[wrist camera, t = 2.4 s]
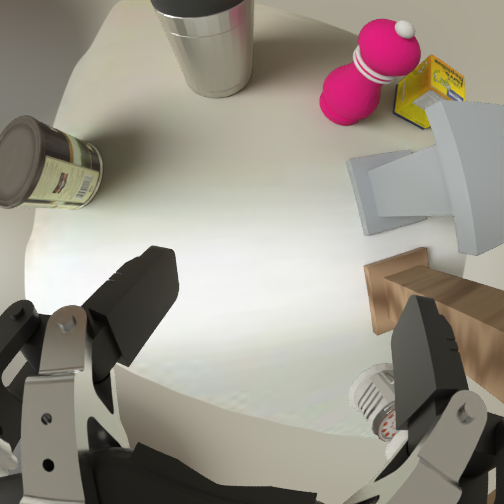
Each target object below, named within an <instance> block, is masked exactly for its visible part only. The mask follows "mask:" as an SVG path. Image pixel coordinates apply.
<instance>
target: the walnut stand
mask: <svg viewBox="0 0 504 504" xmlns="http://www.w3.org/2000/svg"><path fill="white" fill-rule="evenodd" d="M364 272H365V277H366V283H367V289H368V296H369V303H370V310H371V317H372V325H373V332H374V333H375V334H376V335H380V334H383V333H385V332H388V331H390V330H393V329H394V328H395V326H396V324H397V322H398V320H399V318H400V316H401V314H402V312H403V310H404V308H405V306H406V303H407V301H408V299H409V297H410V296H411V295H419V296H425V297H431V298H433V299H434V300H435V303H436V306H437V309H438V312H439V314H440V315H443V316H444V317H445V318H446V320H447V321H448V322H449V324H450V325H451V326H452V329H453V333H454V336H455V342H457V346H458V349H459V350H458V352H460V356H461V360H462V363H463V367H464V371H465V374H466V375H467V376H468V377H470V378H471V379H472V380H474V381H475V382H476V383H478V384H479V385H480V386H482V387H483V388H484V389H486V390H487V391H488V392H489V393H491V394H492V395H493V396H495V397H496V398H497V399H498V400H500V401H501V402H502V403H504V291H503V290H500V289H496V288H493V287H490V286H487V285H484V284H480V283H477V282H474V281H470V280H467V279H463V278H460V277H457V276H453V275H450V274H446V273H443V272H439V271H436V270H432V269H429V263H428V255H427V248H423V247H420V248H417V249H414V250H411V251H408V252H405V253H402V254H399V255H396V256H393V257H390V258H387V259H384V260H381V261H377V262H374V263H371V264H368V265H365V266H364Z"/></svg>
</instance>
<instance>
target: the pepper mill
mask: <svg viewBox="0 0 504 504" xmlns="http://www.w3.org/2000/svg"><path fill="white" fill-rule="evenodd" d="M414 35H415V29H414V26H413V25H412V24H411V23H409V22H407V21H404V20H401V21H398V22H395V21H392V20H388V19H376V20H373V21H371V22H369V23H368V24H366V25H365V26H364V27H363V28H362V30H361V31H360V34H359V38H358V46H357V48H356V49H355V50H354V53H353V60H354V61H353V62H352V63H350V64H347V65H344V66H341V67H338V68H337V69H335V70H333V71H332V72H331V73H330V74H329V75H328V77H327V78H326V79H325V81H324V85H323V92H322V94H321V96H320V107H321V110H322V112H323V113H324V115H325V116H326V117H327V118H328V119H329V120H331V121H332V122H334V123H336V124H339V125H345V126H347V125H352V124H355V123H356V122H357V121H358V120H360V119H364V118H366V117H368V116H370V115H371V114H372V113H373V112H374V111H375V109H376V108H377V106H378V104H379V100H380V90H381V86H382V85H383V84H389V83H392V82H393V81H394V80H395V79H396V78H398V77H399V76H404V75H407V74H409V73H411V72H412V71H413V70H414V69H415V68H416V67H417V65H418V64H419V61H420V56H421V51H420V46H419V44H418V42H417V40H416V38H415V36H414Z"/></svg>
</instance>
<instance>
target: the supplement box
mask: <svg viewBox="0 0 504 504" xmlns="http://www.w3.org/2000/svg"><path fill="white" fill-rule="evenodd" d="M440 100H450V101H465V83H464V76H462V75H461V74H459V73H458V72H457V71H455V70H454V69H453V68H451V67H450V66H448V65H447V64H446V63H444V62H443V61H441V60H440V59H438V58H436V57H435V56H434V55H432V54H431V55H430V56H429V57H428V58H427V59H425V60H424V61H423V62H422V63H421V64H420V65H419V66H417V67H416V68H415V69H414V70H413V71H412V72H411V73H409V74H408V75H407V76H406V77H405V78H404V79H403V80H402V81H400V82H399V83H398V84H397V85H396V93H395V100H394V107H393V114H395V115H397V116H399V117H401V118H402V119H404V120H406V121H408V122H410V123H412V124H414V125H416V126H417V127H419V128H421V129H425V128H427V127H429V126H430V123H429V120H428V117H427V115H426V112H425V109H427V108H428V107H430V106H432V105H433V104H435V103H437V102H438V101H440Z"/></svg>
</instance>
